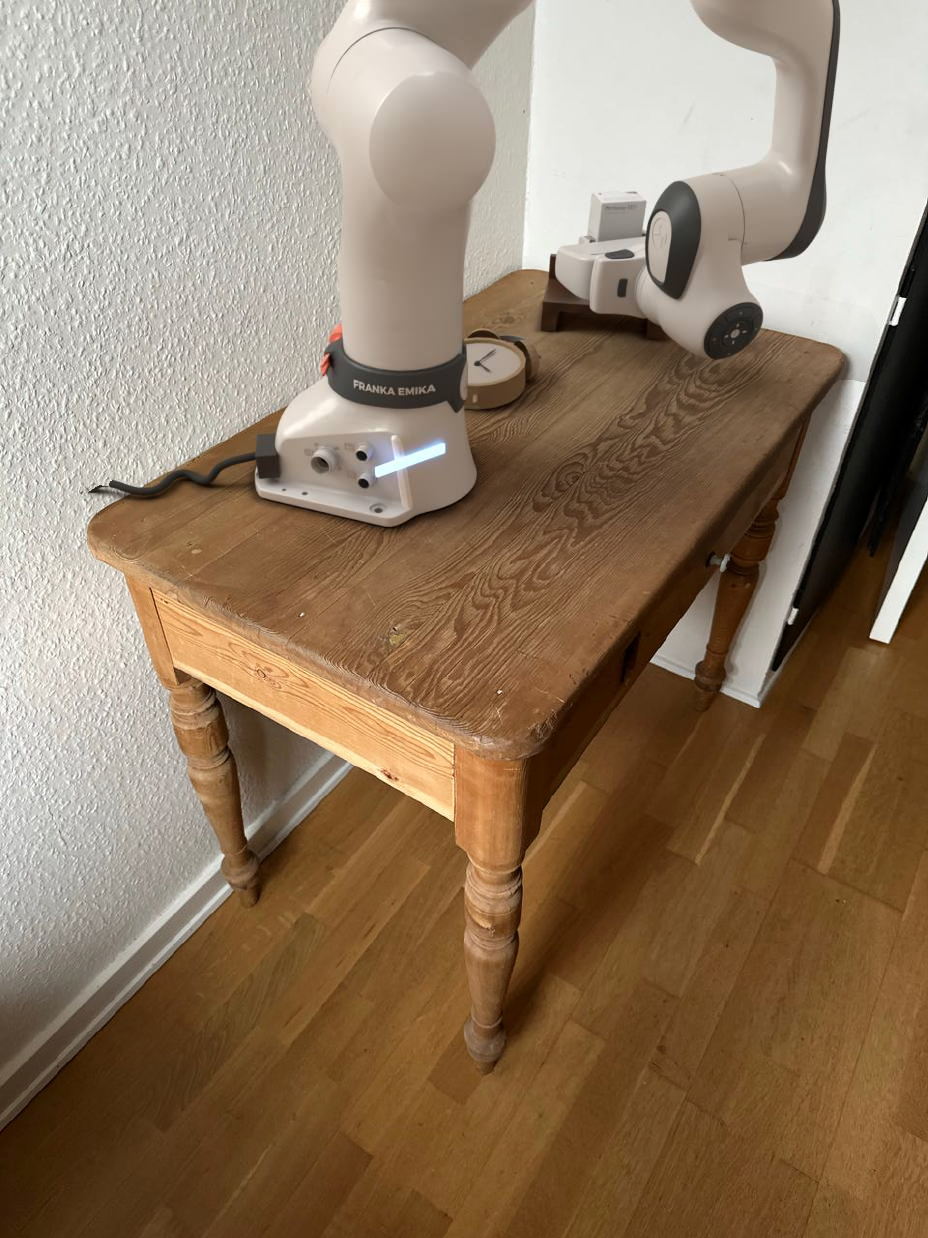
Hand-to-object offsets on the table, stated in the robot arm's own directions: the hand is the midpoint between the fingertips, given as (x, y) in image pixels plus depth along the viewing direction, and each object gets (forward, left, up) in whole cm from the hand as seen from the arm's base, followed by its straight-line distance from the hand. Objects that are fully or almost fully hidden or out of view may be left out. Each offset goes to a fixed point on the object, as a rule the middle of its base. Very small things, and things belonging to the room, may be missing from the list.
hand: (609, 238), depth 116 cm
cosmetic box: (+1, -1, -7) cm, 7 cm away
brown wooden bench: (0, -1, -11) cm, 11 cm away
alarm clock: (-13, -21, -11) cm, 27 cm away
